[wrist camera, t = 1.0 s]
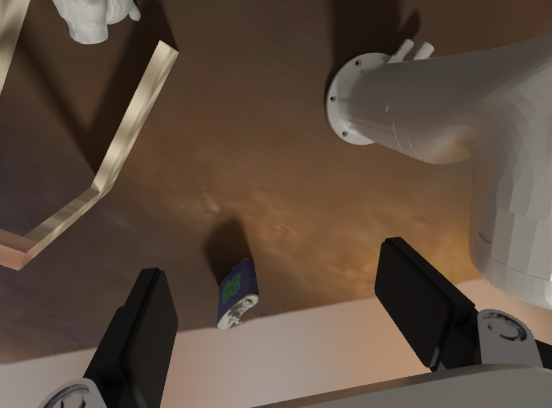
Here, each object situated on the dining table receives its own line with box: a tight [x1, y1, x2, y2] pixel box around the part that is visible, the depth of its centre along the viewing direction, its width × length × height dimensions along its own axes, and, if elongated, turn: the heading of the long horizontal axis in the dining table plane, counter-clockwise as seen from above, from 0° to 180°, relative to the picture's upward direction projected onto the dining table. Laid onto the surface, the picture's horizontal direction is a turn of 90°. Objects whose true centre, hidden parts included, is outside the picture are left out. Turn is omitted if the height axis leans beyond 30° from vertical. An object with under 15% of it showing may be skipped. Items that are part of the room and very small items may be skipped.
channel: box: [0, 0, 179, 270], centre depth 25 cm, size 22×16×19 cm
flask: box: [217, 258, 259, 329], centre depth 44 cm, size 9×3×11 cm, turn 136°
